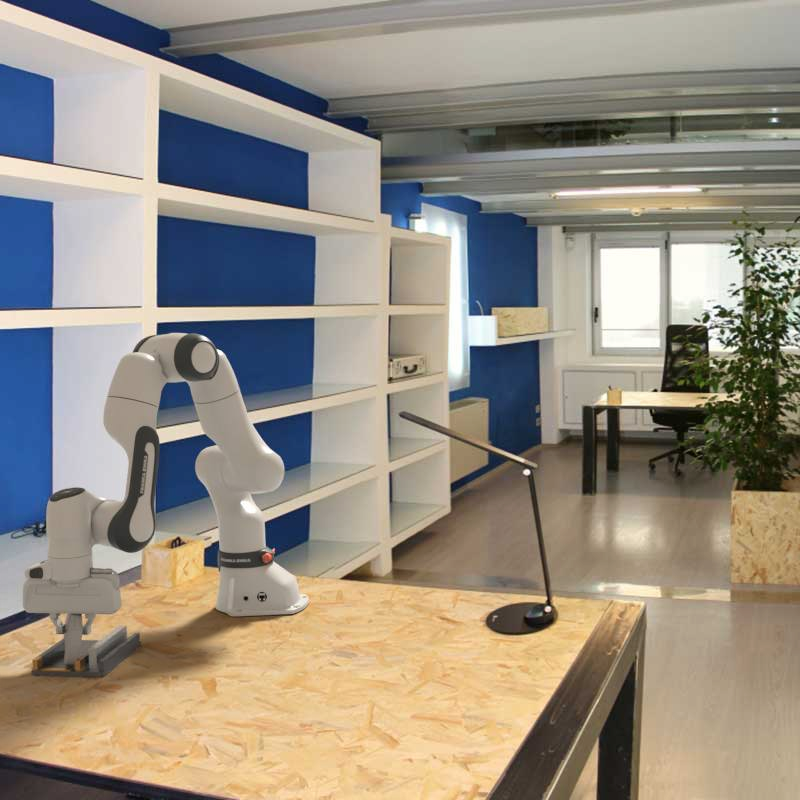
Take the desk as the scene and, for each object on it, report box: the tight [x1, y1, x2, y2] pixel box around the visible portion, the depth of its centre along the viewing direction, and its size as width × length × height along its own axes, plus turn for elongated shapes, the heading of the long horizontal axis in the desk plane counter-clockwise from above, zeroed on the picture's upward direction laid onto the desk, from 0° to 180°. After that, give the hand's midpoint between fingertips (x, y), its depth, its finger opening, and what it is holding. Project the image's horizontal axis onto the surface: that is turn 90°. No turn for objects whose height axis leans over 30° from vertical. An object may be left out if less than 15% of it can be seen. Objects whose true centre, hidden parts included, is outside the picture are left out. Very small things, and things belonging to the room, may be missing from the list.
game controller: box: [63, 613, 84, 665], centre depth 211 cm, size 20×2×8 cm, turn 19°
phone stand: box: [31, 625, 142, 678], centre depth 211 cm, size 15×19×5 cm
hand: (73, 633), depth 211 cm, fingers closed on game controller, 4 cm apart
